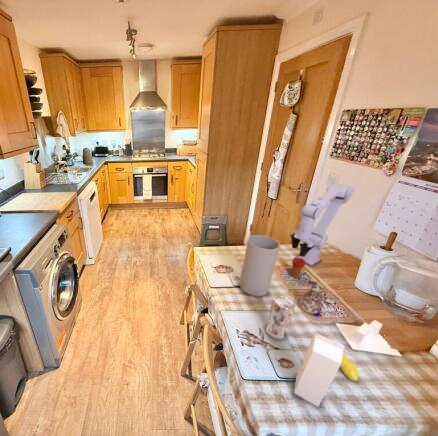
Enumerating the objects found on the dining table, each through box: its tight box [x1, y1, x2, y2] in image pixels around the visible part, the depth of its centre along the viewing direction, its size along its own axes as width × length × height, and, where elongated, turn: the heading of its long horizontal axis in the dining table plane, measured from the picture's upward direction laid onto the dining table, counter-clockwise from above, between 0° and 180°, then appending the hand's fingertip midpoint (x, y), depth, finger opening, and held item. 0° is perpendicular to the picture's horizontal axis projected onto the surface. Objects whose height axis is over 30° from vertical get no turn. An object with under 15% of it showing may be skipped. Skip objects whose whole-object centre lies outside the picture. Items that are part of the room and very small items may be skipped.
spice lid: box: [291, 257, 307, 269], centre depth 113 cm, size 5×5×2 cm
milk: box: [293, 333, 346, 408], centre depth 64 cm, size 6×6×22 cm
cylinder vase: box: [238, 234, 281, 297], centre depth 103 cm, size 12×12×25 cm
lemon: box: [339, 354, 359, 382], centre depth 73 cm, size 4×8×4 cm, turn 169°
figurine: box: [299, 281, 324, 315], centre depth 95 cm, size 7×7×12 cm
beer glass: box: [265, 295, 296, 340], centre depth 83 cm, size 7×7×15 cm
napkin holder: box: [334, 319, 403, 357], centre depth 83 cm, size 15×11×6 cm
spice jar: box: [289, 264, 303, 279], centre depth 115 cm, size 4×4×8 cm
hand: (298, 251), depth 118 cm, fingers open, 7 cm apart
